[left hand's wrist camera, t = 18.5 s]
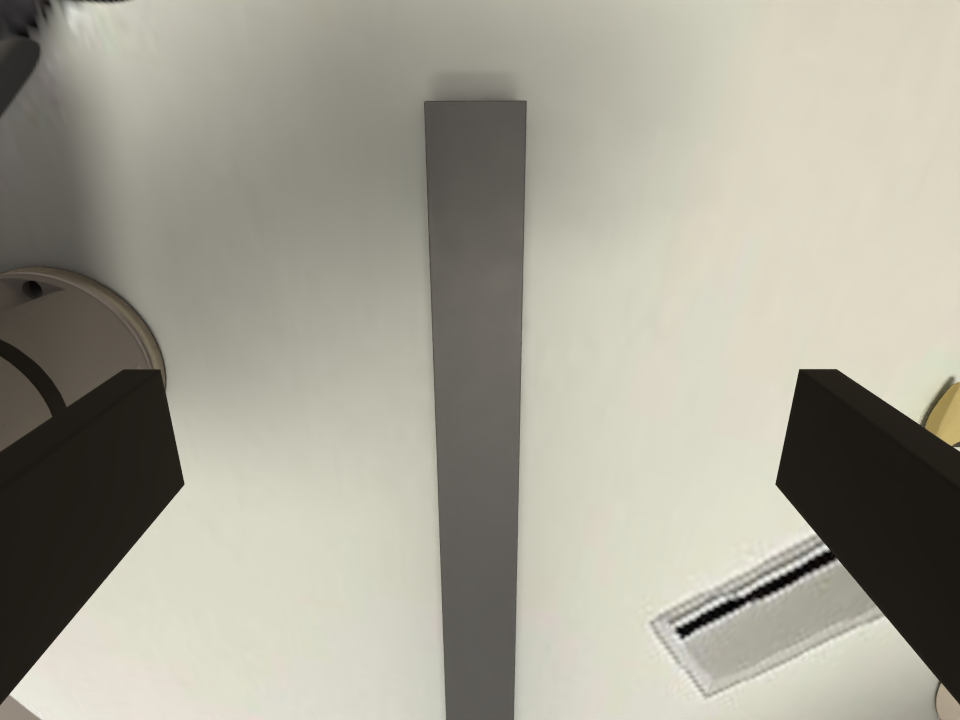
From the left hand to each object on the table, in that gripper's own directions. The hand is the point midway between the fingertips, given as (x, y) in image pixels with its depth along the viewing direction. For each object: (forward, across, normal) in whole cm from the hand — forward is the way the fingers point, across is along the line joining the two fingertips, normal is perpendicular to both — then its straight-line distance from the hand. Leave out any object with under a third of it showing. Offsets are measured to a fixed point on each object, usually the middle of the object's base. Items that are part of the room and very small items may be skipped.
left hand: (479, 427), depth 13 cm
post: (+32, 0, -34) cm, 47 cm away
